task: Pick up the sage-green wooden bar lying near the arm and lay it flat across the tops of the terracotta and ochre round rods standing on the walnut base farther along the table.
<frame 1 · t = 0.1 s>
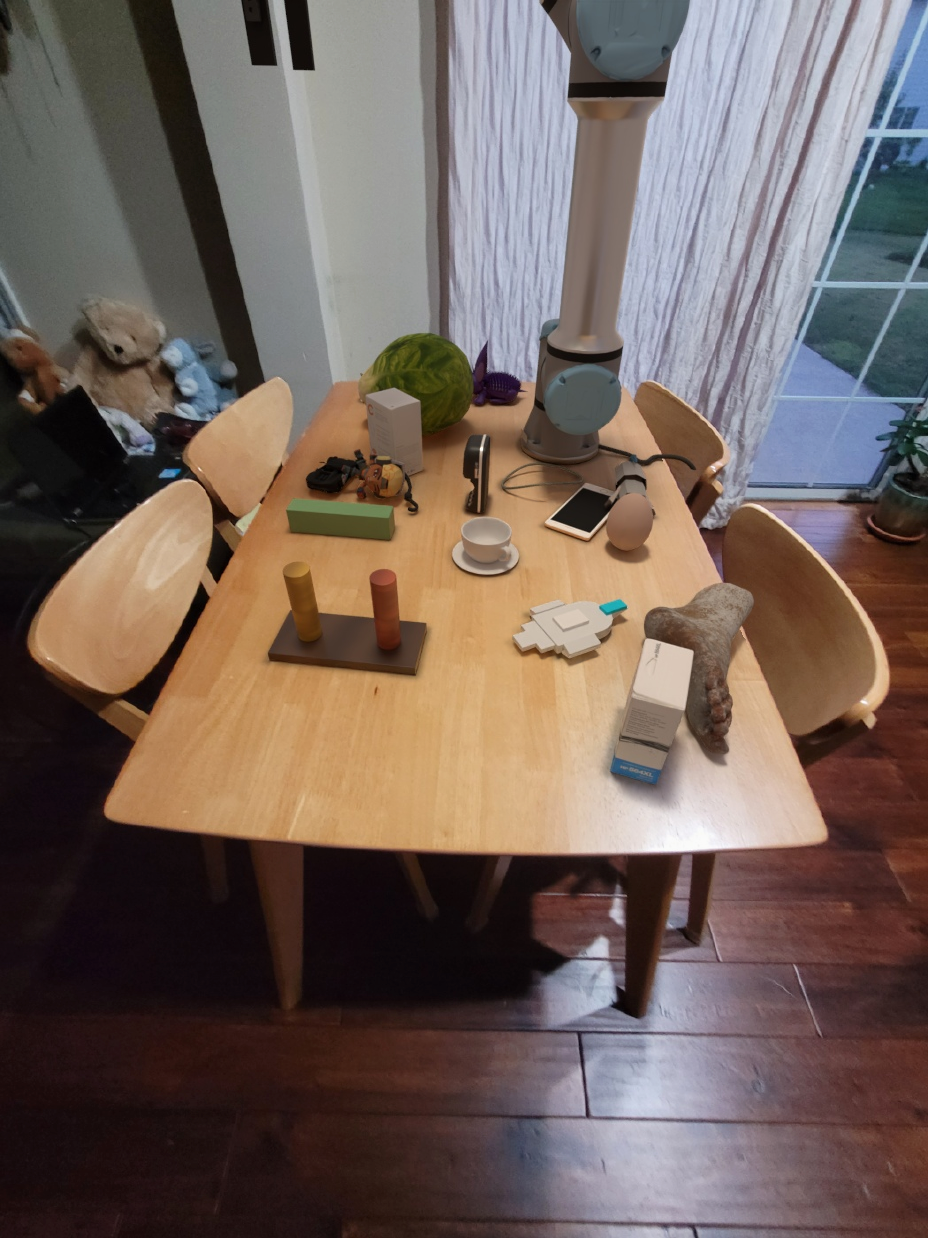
hand: (285, 68, 70), 53 cm above the table, tool pointing down, fingers open, 13 cm apart
creature: (489, 400, 133), on the table
eagle figurine: (361, 382, 128), point 4 cm above the table
ballet flat: (570, 370, 133), point 5 cm above the table
rods: (350, 644, 73), on the table
toy 2: (356, 456, 100), point 5 cm above the table
cell phone: (586, 512, 97), on the table
small box: (397, 468, 108), on the table
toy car: (335, 482, 103), on the table
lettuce: (415, 431, 120), on the table
ink box: (637, 748, 62), on the table
egg: (623, 548, 89), on the table
loop: (549, 467, 108), on the table
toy: (636, 522, 91), point 2 cm above the table
bar: (343, 529, 92), on the table
sculpture: (668, 666, 66), point 4 cm above the table
toy rocket: (573, 616, 73), point 3 cm above the table
teacup: (485, 557, 87), on the table
battery charger: (475, 504, 99), on the table
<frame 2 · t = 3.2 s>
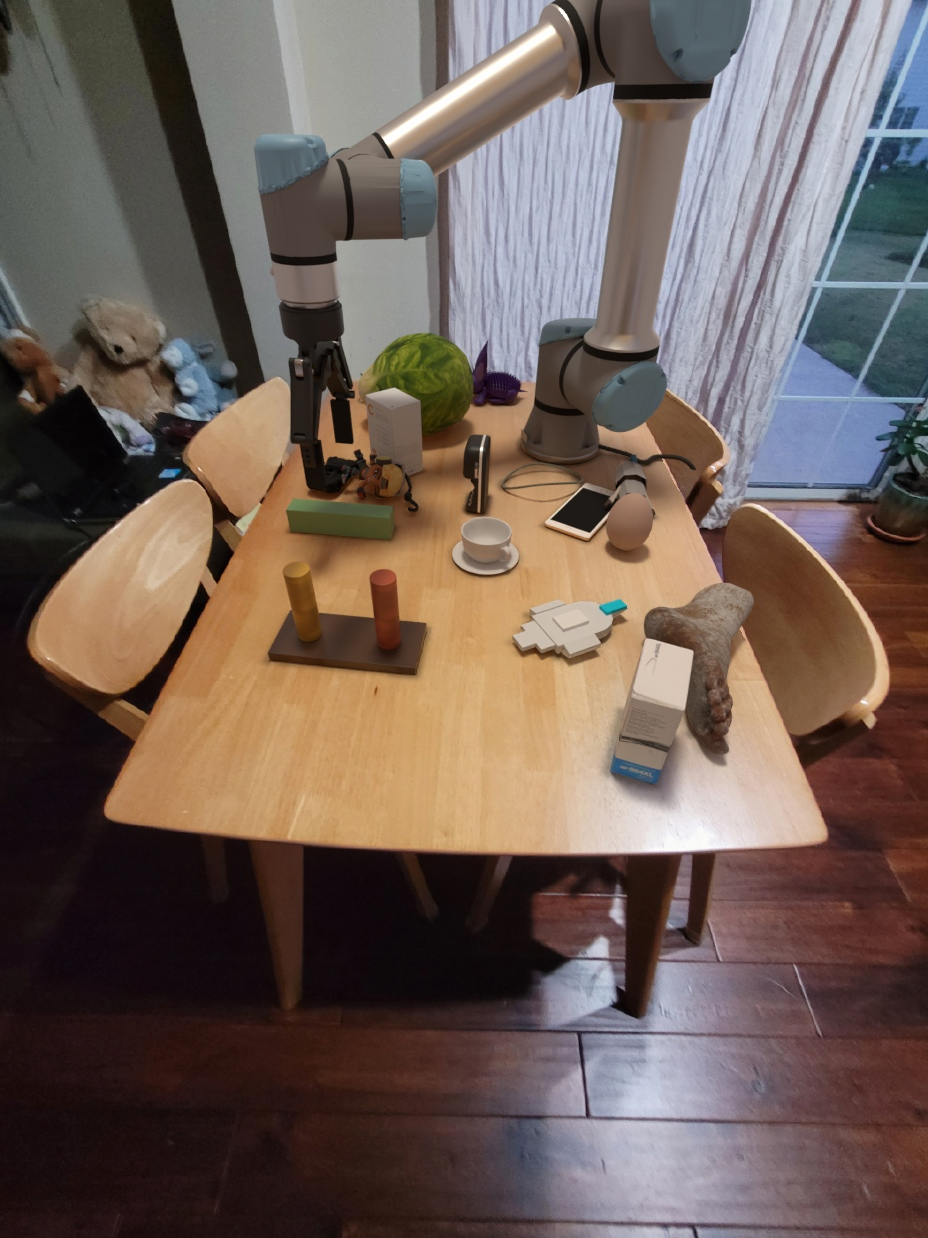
hand: (331, 463, 84), 11 cm above the table, tool pointing down, fingers open, 13 cm apart
nothing on the table moved.
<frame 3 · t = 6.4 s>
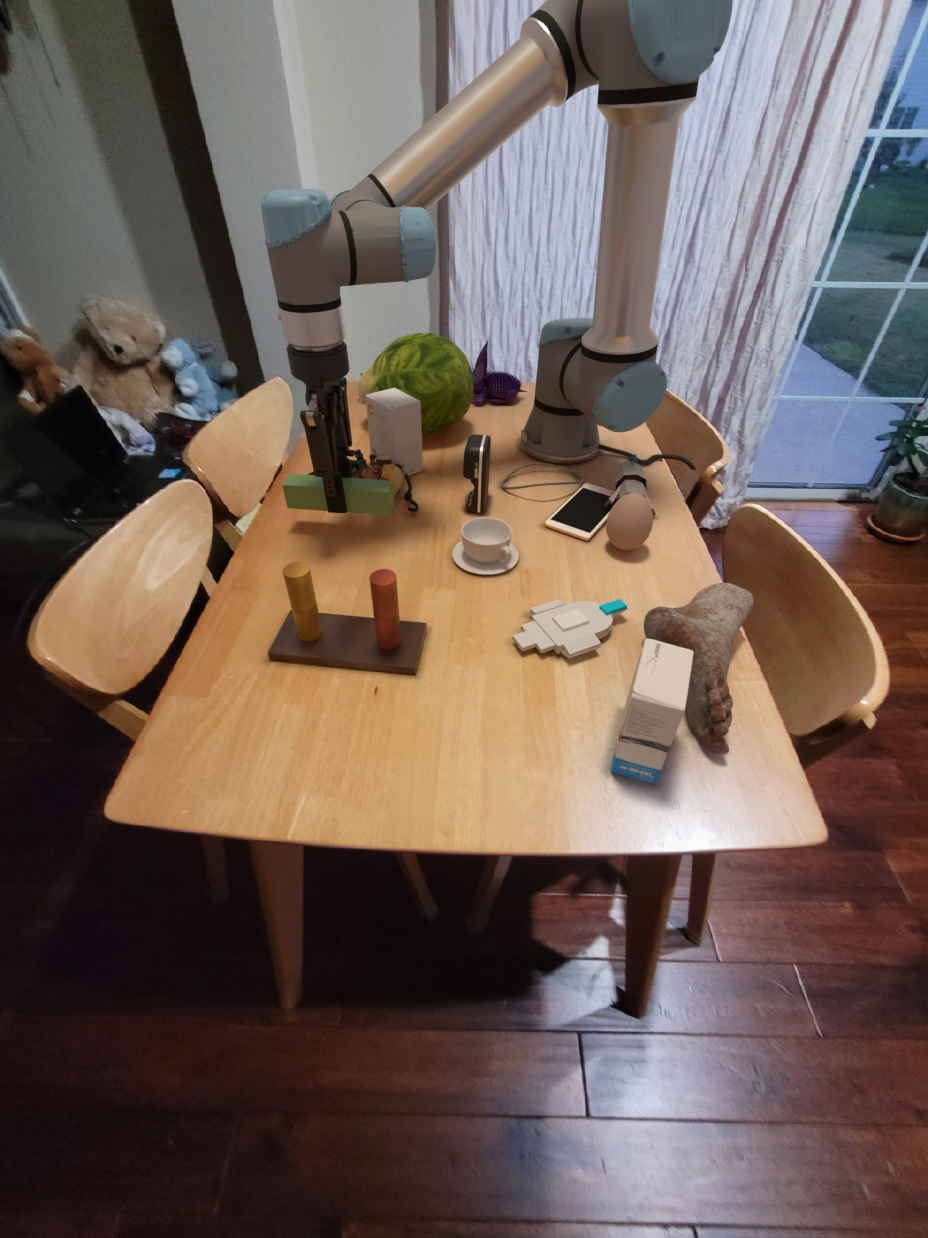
hand: (341, 504, 89), 5 cm above the table, tool pointing down, fingers closed on bar, 3 cm apart
bar: (341, 506, 89), point 4 cm above the table, touching gripper
everything else where it was.
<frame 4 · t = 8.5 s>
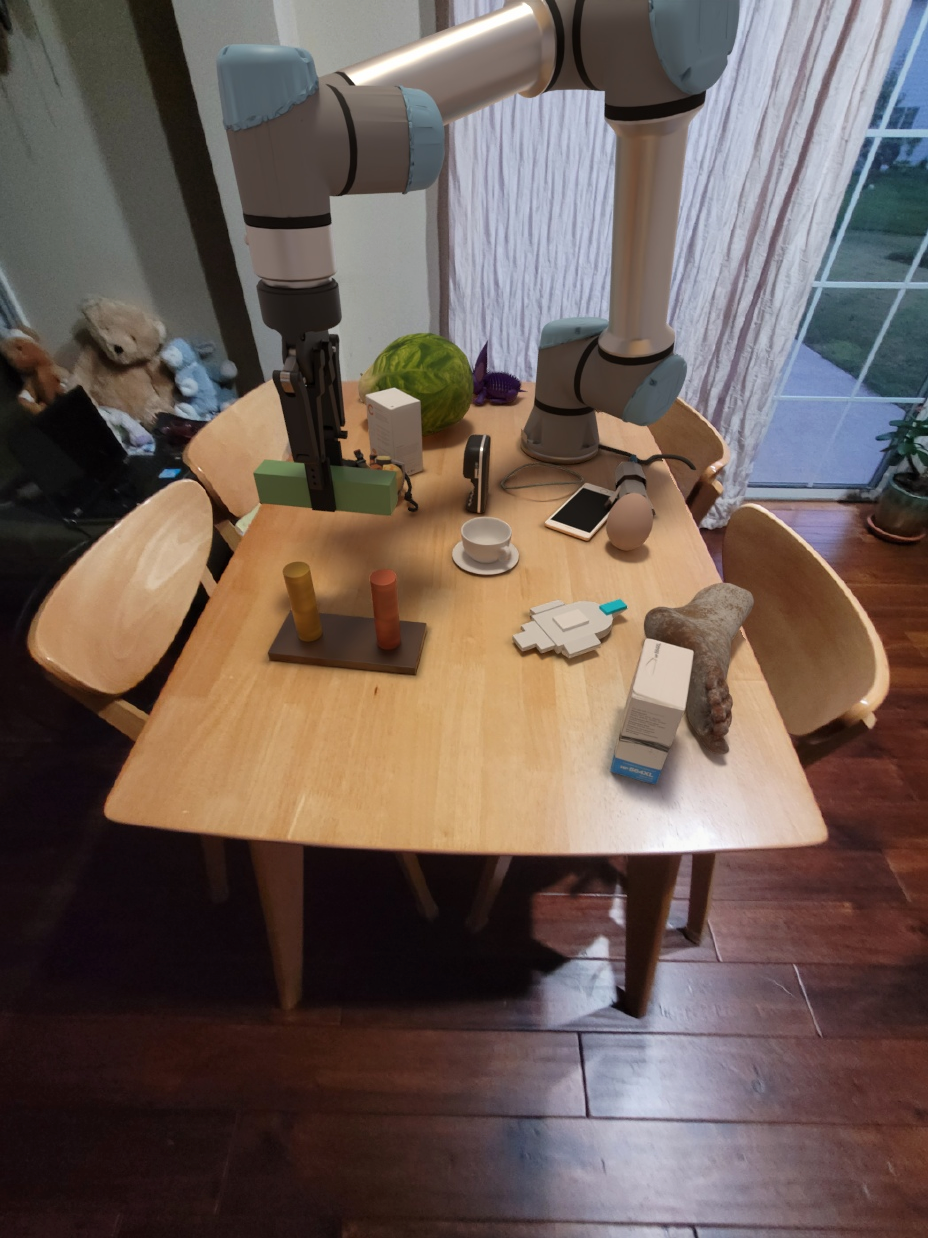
hand: (329, 500, 70), 15 cm above the table, tool pointing down, fingers closed on bar, 3 cm apart
bar: (329, 502, 70), point 15 cm above the table, touching gripper
everything else where it was.
when the fingers open (11 cm above the table, at t = 10.6 s): bar stays where it is, resting on rods.
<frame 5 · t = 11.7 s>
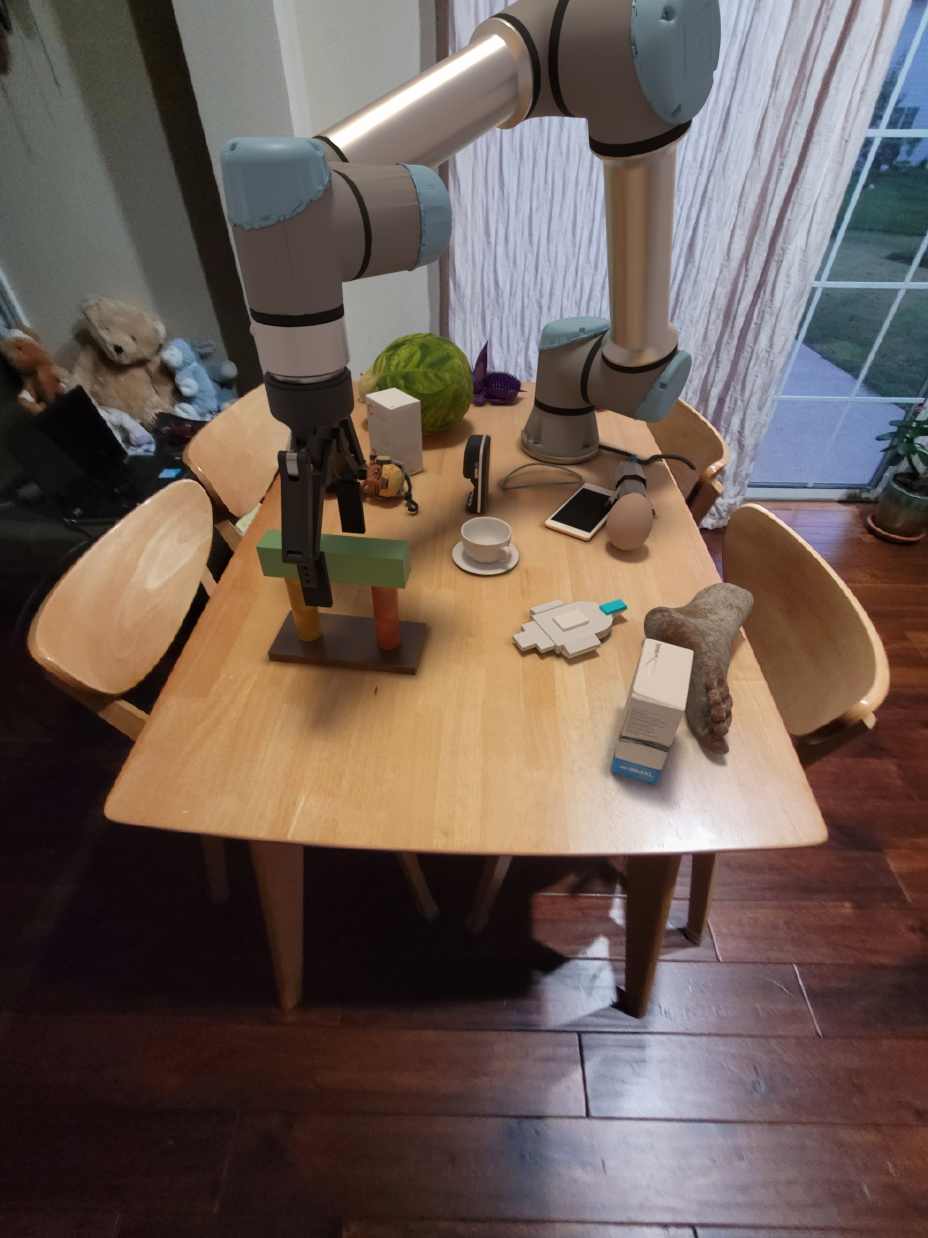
hand: (338, 565, 65), 12 cm above the table, tool pointing down, fingers open, 13 cm apart
bar: (338, 573, 65), point 11 cm above the table, touching rods
everything else where it was.
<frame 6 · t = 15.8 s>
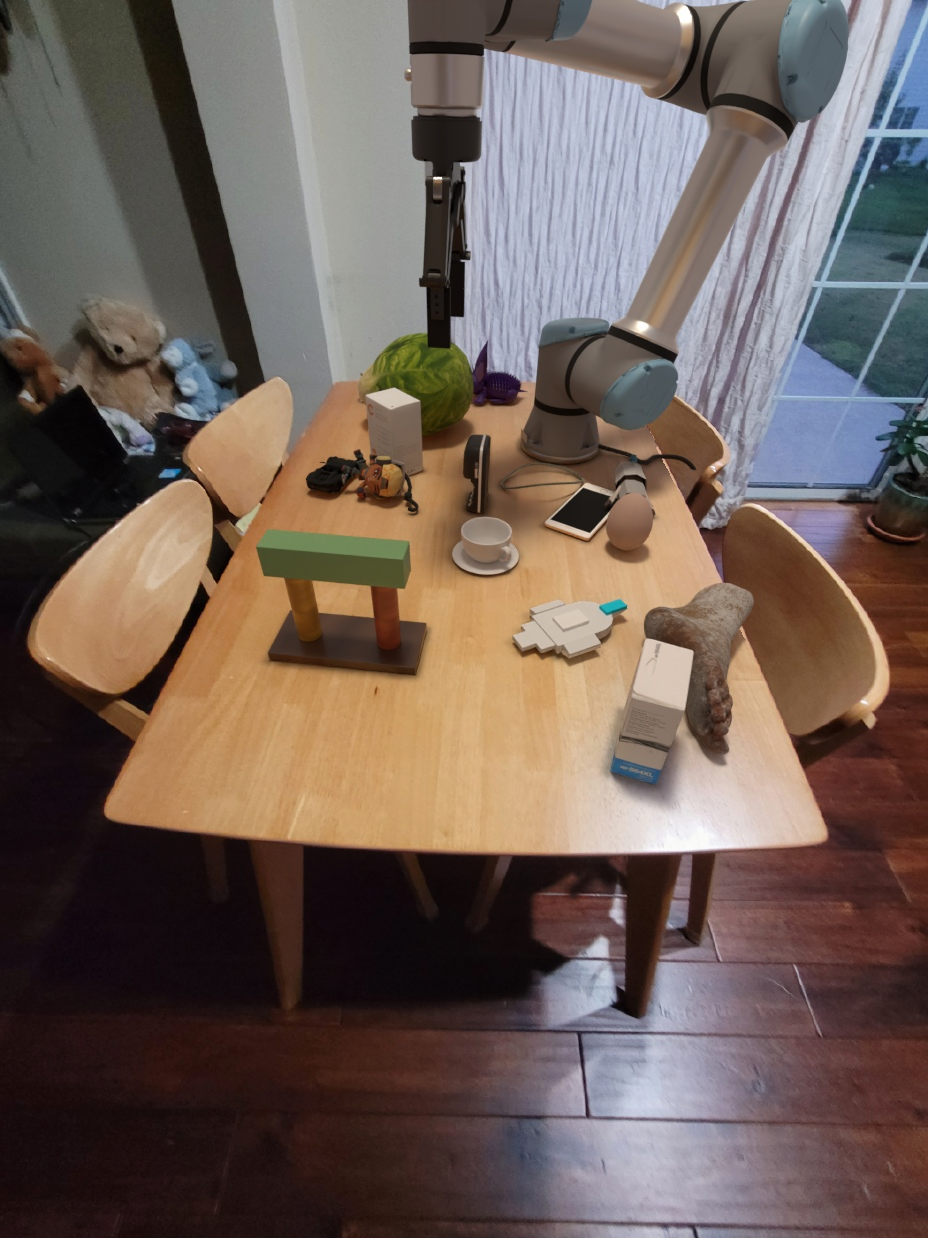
hand: (447, 330, 75), 29 cm above the table, tool pointing down, fingers open, 13 cm apart
nothing on the table moved.
at the end: bar 0.1 cm off-centre on the rods, point 11.2 cm above the rods's base; bar tilted 0°; the gripper is holding nothing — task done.
